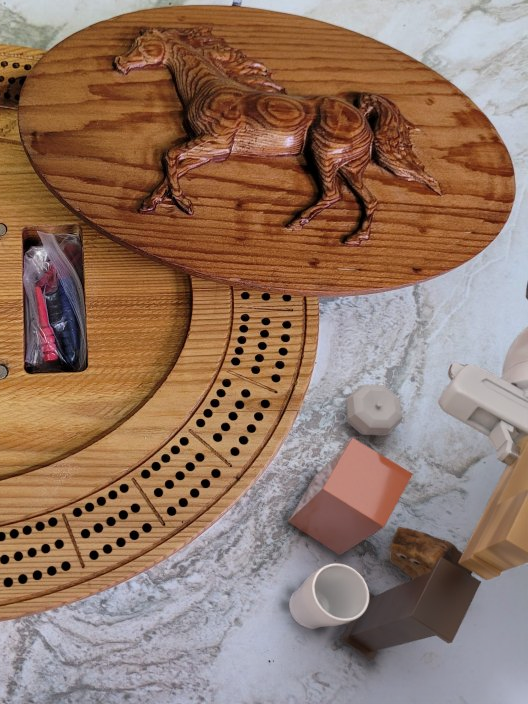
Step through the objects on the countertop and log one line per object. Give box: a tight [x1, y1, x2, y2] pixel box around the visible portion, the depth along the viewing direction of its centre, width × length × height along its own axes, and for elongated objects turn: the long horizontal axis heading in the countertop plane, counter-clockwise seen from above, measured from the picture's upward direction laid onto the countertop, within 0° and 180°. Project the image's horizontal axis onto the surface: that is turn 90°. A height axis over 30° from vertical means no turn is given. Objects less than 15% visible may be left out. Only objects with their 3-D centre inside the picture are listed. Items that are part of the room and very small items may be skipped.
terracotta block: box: [287, 437, 414, 556], centre depth 108 cm, size 8×8×18 cm
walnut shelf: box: [338, 557, 482, 662], centre depth 98 cm, size 4×8×26 cm, turn 144°
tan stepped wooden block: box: [458, 435, 528, 581], centre depth 82 cm, size 3×16×10 cm, turn 144°
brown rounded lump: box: [389, 526, 473, 579], centre depth 108 cm, size 12×6×11 cm, turn 54°
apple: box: [345, 384, 403, 436], centre depth 119 cm, size 8×8×7 cm
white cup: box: [288, 563, 370, 630], centre depth 104 cm, size 7×7×15 cm
